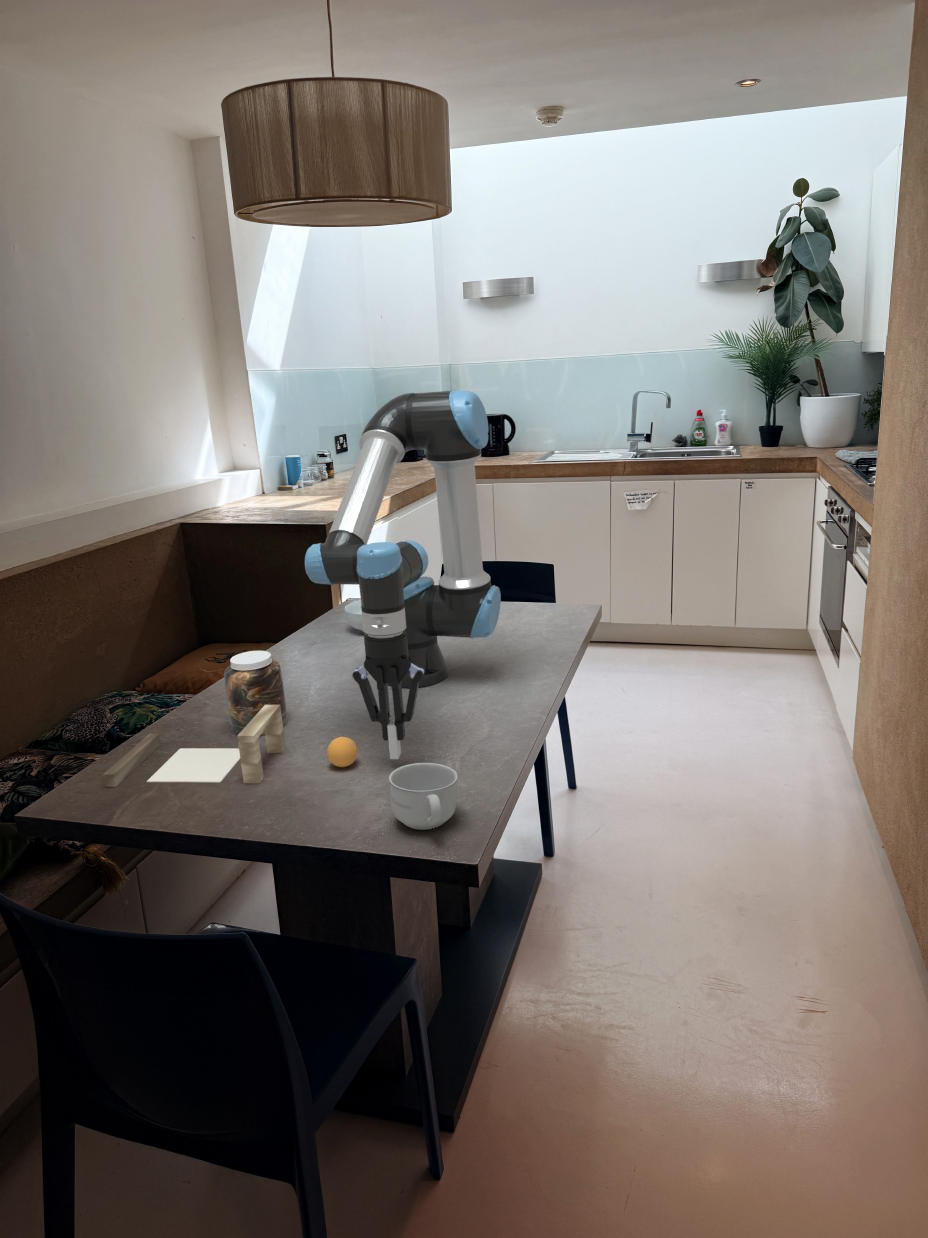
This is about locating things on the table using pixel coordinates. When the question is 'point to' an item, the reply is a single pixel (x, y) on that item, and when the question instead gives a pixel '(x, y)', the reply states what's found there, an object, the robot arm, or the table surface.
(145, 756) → the stopper
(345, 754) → the ball
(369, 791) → the table surface
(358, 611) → the cereal bowl
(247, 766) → the bridge
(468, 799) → the table surface
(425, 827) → the teacup
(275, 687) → the jar
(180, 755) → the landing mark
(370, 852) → the table surface
